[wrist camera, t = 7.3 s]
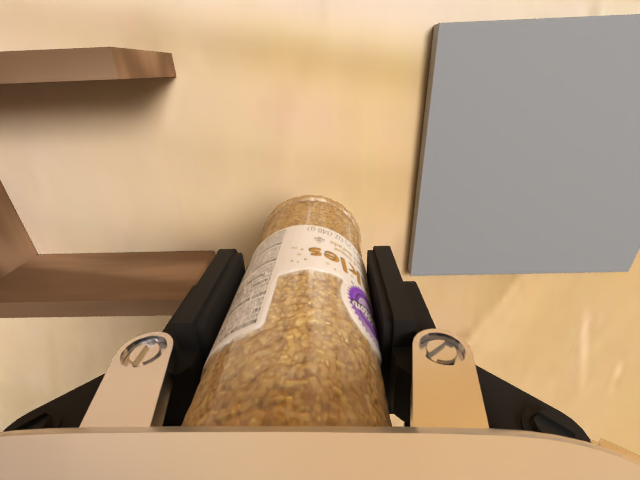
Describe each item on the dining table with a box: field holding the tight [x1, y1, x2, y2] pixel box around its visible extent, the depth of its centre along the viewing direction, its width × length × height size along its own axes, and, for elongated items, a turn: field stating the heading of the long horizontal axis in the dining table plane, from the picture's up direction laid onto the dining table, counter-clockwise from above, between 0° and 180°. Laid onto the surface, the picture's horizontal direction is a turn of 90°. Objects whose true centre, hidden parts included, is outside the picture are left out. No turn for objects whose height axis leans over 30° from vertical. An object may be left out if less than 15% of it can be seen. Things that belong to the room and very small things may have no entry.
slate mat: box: [408, 14, 640, 276], centre depth 21 cm, size 16×16×1 cm
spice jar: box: [181, 195, 392, 427], centre depth 9 cm, size 5×5×14 cm
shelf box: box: [0, 47, 215, 318], centre depth 20 cm, size 14×15×6 cm
